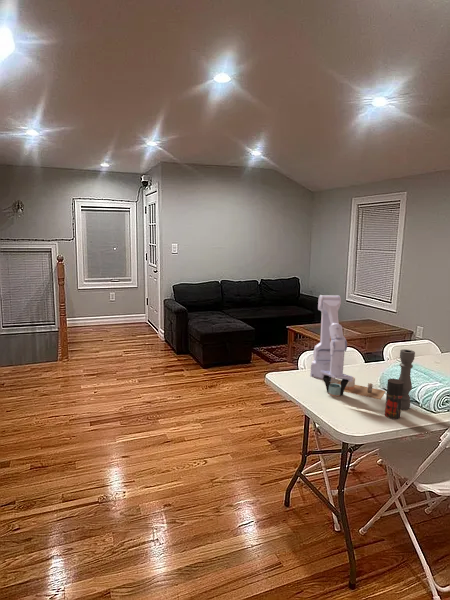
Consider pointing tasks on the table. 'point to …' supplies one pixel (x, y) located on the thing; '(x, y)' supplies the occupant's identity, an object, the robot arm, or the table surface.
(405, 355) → the candle holder
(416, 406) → the table surface
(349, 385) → the ivory sleeve
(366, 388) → the pin board
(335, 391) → the teal sleeve
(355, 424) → the table surface
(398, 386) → the deodorant
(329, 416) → the table surface
